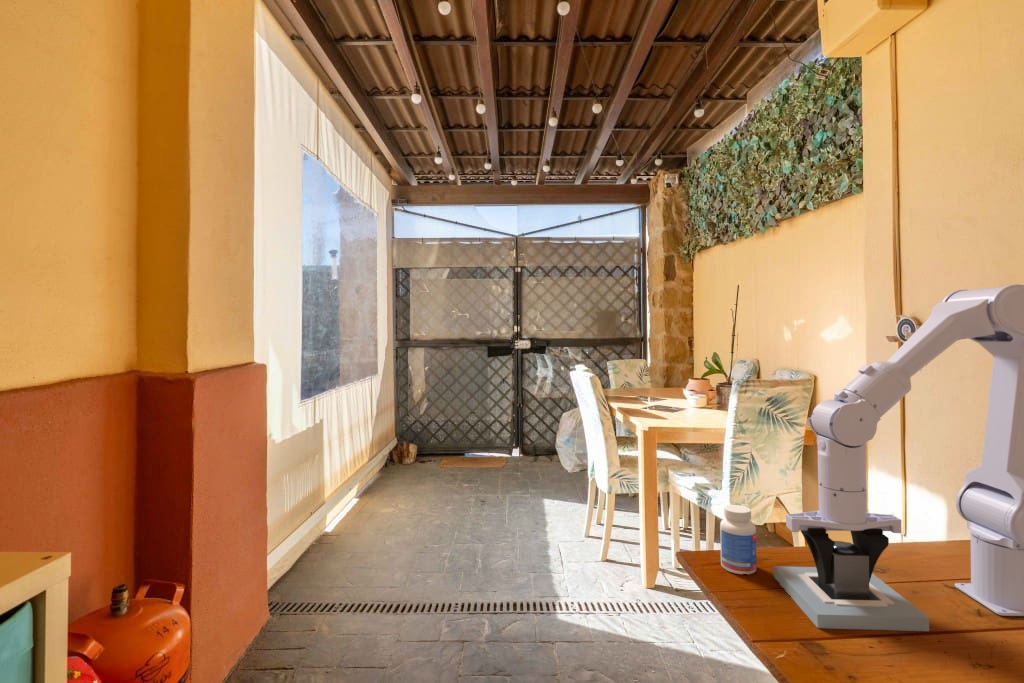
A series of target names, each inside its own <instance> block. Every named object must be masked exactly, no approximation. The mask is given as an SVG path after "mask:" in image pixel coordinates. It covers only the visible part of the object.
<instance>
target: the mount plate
mask: <svg viewBox="0 0 1024 683" xmlns="http://www.w3.org/2000/svg"><path fill="white" fill-rule="evenodd" d="M773 579H775V581H776V580H777V581H778V582H779V583H780V584H779V583H778V582H777V581H776V582H777V583H778V584H779V585H780V586H781V587H782V589H783V588H784V589H785V590H784V589H783V590H784V591H785V592H786V593H787V595H788V596H789V595H790V596H791V597H790V596H789V597H790V598H791V599H792V600H793V602H794V603H795V604H796V605H797V606H798V607H799V608H800V610H801V611H802V612H803V613H804V614H805V615H806V616H807V618H808V619H809V620H810V621H811V622H812V623H813V625H814V626H815V627H816V628H817V629H831V630H832V629H834V630H836V629H837V630H868V631H869V630H870V631H906V632H914V631H915V632H929V631H930V617H929V616H928V615H927V614H925V612H922V611H921V610H920V609H919V608H917V607H916V606H915V605H914V604H913V603H911V602H910V601H908V600H907V599H906V598H904V596H902V595H901V594H900V593H898V592H897V591H896V590H894V589H893V588H892V587H890V586H889V585H888V584H887V583H886V582H884V581H883V580H881V578H879V577H877V576H876V575H875V574H874V573H872V575H871V579H870V582H869V598H870V600H836V599H831V598H830V597H829V596H828V595H827V594H826V593H825V592H824V591H823V590H822V589H821V588H820V587H819V585H818V573H817V568H816V566H781V565H780V566H774V565H773Z"/></svg>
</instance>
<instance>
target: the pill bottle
mask: <svg viewBox="0 0 1024 683" xmlns="http://www.w3.org/2000/svg"><path fill="white" fill-rule="evenodd" d="M723 510H724V511H723V512H724V517H725V518H724V519H722V520H721V521H720V525H719V529H720V530H719V532H720V565H721V567H722V568H723V569H724V570H726V571H728V572H730V573H732V574H737V575H743V574H747V575H752V574H754V573H755V572H756V571H757V567H758V566H757V565H758V562H757V557H758V556H757V528H756V527H757V526H756V525H755V523H754V522H752V521H751V519H752V510H751V508H749V507H748V506H744V505H741V504H728V505H725V506H724V509H723Z"/></svg>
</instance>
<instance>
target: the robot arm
mask: <svg viewBox="0 0 1024 683" xmlns="http://www.w3.org/2000/svg"><path fill="white" fill-rule="evenodd" d="M966 339H969V340H971V341H973V342H976V343H977V344H979V345H980V346H981V347H982V348H984V350H986V352H988V353H989V354H991V355H992V357H993V358H992V367H991V368H992V369H991V378H990V387H989V395H988V406H987V411H986V412H987V414H986V421H985V431H984V440H983V448H982V456H981V464H979V465H978V466H976V467H973V469H970V470H969V471H967V472H966V473H965V476H964V482H963V485H962V487H961V488H960V490H959V491H958V493H957V495H956V498H955V507H956V511H957V513H958V514H959V516H960V517H961V518H962V519H963V520H964V521H966V529H968V530H969V531H970V582H966V583H965V582H955V583H954V587H955V588H956V589H958V590H960V591H961V592H963V593H964V594H966V595H967V596H969V597H970V598H972V599H973V600H975V601H977V602H978V603H980V604H981V605H983V606H984V607H986V608H987V609H989V610H990V611H992V612H993V613H995V614H997V615H998V616H1003V617H1004V616H1006V617H1007V616H1008V617H1024V284H1020V283H1017V284H1009V285H1006V286H997V287H987V288H978V289H975V288H974V289H957V290H954V291H952V292H950V293H948V294H947V295H946V296H945V297H943V300H942V301H940V302H939V303H937V304H936V305H934V306H933V307H932V308H931V312H930V316H929V317H928V318H927V319H926V320H925V321H924V322H923V323H922V324H921V325H920V327H918V328H917V330H915V331H914V333H913V334H912V335H911V336H910V337H909V338H908V339H907V340H906V341H905V342H904V343H903V344H902V345H901V346H900V347H899V348H898V349H897V350H896V351H895V352H894V354H892V356H890V358H889V359H888V360H886V361H873V362H870V364H863V365H862V366H861V367H859V369H858V370H857V371H858V373H859V374H858V375H856V377H855V378H853V379H852V380H851V381H850V382H848V384H847V385H846V386H845V387H844V388H842V389H838V390H837V391H836V392H834V394H833V395H834V398H833V399H827V400H822V401H821V402H819V403H818V404H817V405H816V406H815V407H814V409H813V411H812V414H811V416H810V417H808V418H807V423H808V426H809V428H810V430H811V431H812V433H813V434H814V435H815V436H816V445H817V483H818V486H817V487H818V488H817V489H818V492H817V493H818V510H813V511H805V512H800V513H799V512H798V513H786V514H785V527H786V528H787V529H788V530H790V532H792V533H801V535H802V537H803V538H804V540H805V541H806V544H807V546H808V548H809V550H810V553H811V555H812V557H813V561H814V564H815V567H816V568H817V573H818V577H819V578H820V579H821V580H822V581H823V582H824V583H825V584H830V583H831V558H832V552H833V547H834V544H835V542H834V541H835V540H833V539H832V538H830V537H829V533H827V532H828V531H831V532H832V531H834V532H835V531H836V532H838V531H839V532H842V531H844V532H847V531H848V532H850V533H851V534H850V535H851V538H852V539H851V540H852V544H853V545H855V546H856V547H857V548H858V549H860V550H861V551H863V552H864V553H865V554H867V555H868V556H869V582H870V579H871V575H872V574H873V573H874V569H875V567H876V564H877V562H878V560H879V559H880V557H881V555H882V554H883V553H884V551H885V549H887V548H888V546H889V545H890V544H889V543H890V542H889V537H888V536H887V535H885V534H884V532H891V533H893V534H902V531H903V530H902V519H901V518H899V517H897V516H895V515H894V514H884V513H875V512H872V513H871V512H867V511H868V510H867V509H868V508H867V507H868V506H867V501H868V500H867V461H866V460H867V456H866V455H867V453H866V452H867V451H866V450H867V447H866V446H867V445H866V443H867V442H869V441H871V440H873V438H874V437H875V435H876V432H877V428H878V424H879V422H880V421H881V419H882V417H883V416H884V415H885V414H887V413H888V411H890V410H891V409H892V408H893V407H894V406H895V405H896V404H897V403H898V402H900V401H901V400H902V399H903V398H904V397H905V396H906V395H907V394H908V393H910V392H911V390H912V383H911V382H912V380H911V378H912V377H913V376H914V375H916V374H917V373H918V372H919V371H921V370H922V369H923V368H925V366H927V365H928V364H930V363H931V362H932V361H934V360H935V359H936V358H937V357H939V356H940V355H941V354H942V353H943V352H945V351H946V350H947V349H949V348H950V347H951V346H952V345H954V344H955V343H956V342H957V341H960V340H966Z"/></svg>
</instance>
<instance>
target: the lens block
mask: <svg viewBox="0 0 1024 683" xmlns="http://www.w3.org/2000/svg"><path fill="white" fill-rule="evenodd" d="M833 541H834V542H835V544H834V547H833V552H832V558H831V583H830V584H825V583H824V582H823V581H822V580H821V579H820V578H819V577H818V585H819V587H820V588H821V589H822V591H824V592H825V593H826V594H827V595H828V596H829V597H830V598H831V599H836V600H870V598H869V556H868V555H867V554H865V553H864V552H863V551H861V550H860V549H858V548H857V547H856V546H855V545H853V542H852V543H851V542H846V541H841V540H833Z"/></svg>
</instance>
